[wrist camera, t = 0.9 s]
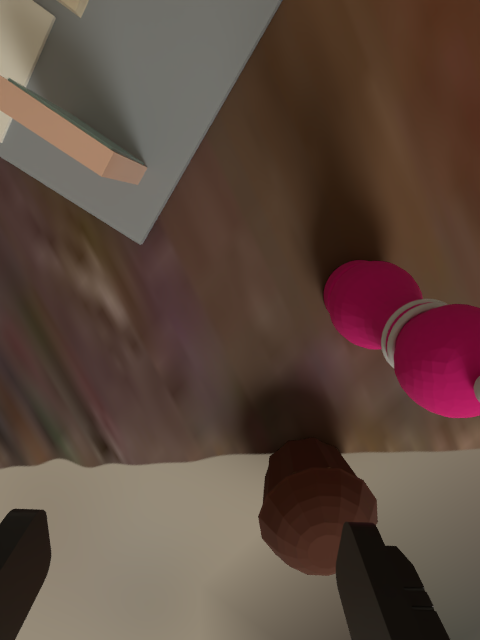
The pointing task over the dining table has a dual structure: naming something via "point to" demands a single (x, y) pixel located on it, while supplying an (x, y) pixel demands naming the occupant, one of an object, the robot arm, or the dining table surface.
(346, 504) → the muffin
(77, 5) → the square plate with post
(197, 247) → the dining table surface
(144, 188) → the mat
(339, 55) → the dining table surface
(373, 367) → the dining table surface
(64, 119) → the tile
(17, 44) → the plate
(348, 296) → the pepper mill
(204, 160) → the dining table surface
